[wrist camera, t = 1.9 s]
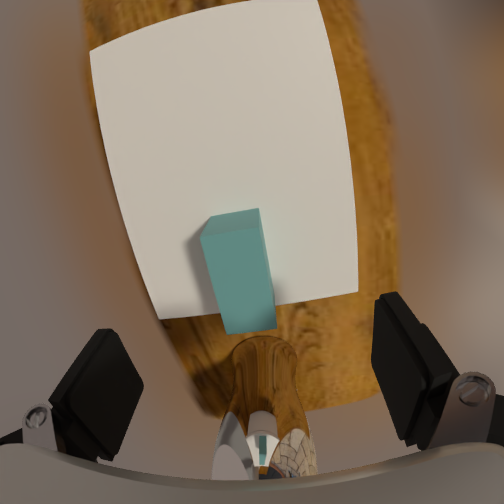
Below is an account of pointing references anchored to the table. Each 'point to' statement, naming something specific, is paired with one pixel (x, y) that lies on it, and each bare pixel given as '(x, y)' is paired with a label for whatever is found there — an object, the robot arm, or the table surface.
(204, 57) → the box lid
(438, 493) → the robot arm
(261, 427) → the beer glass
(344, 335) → the table surface
